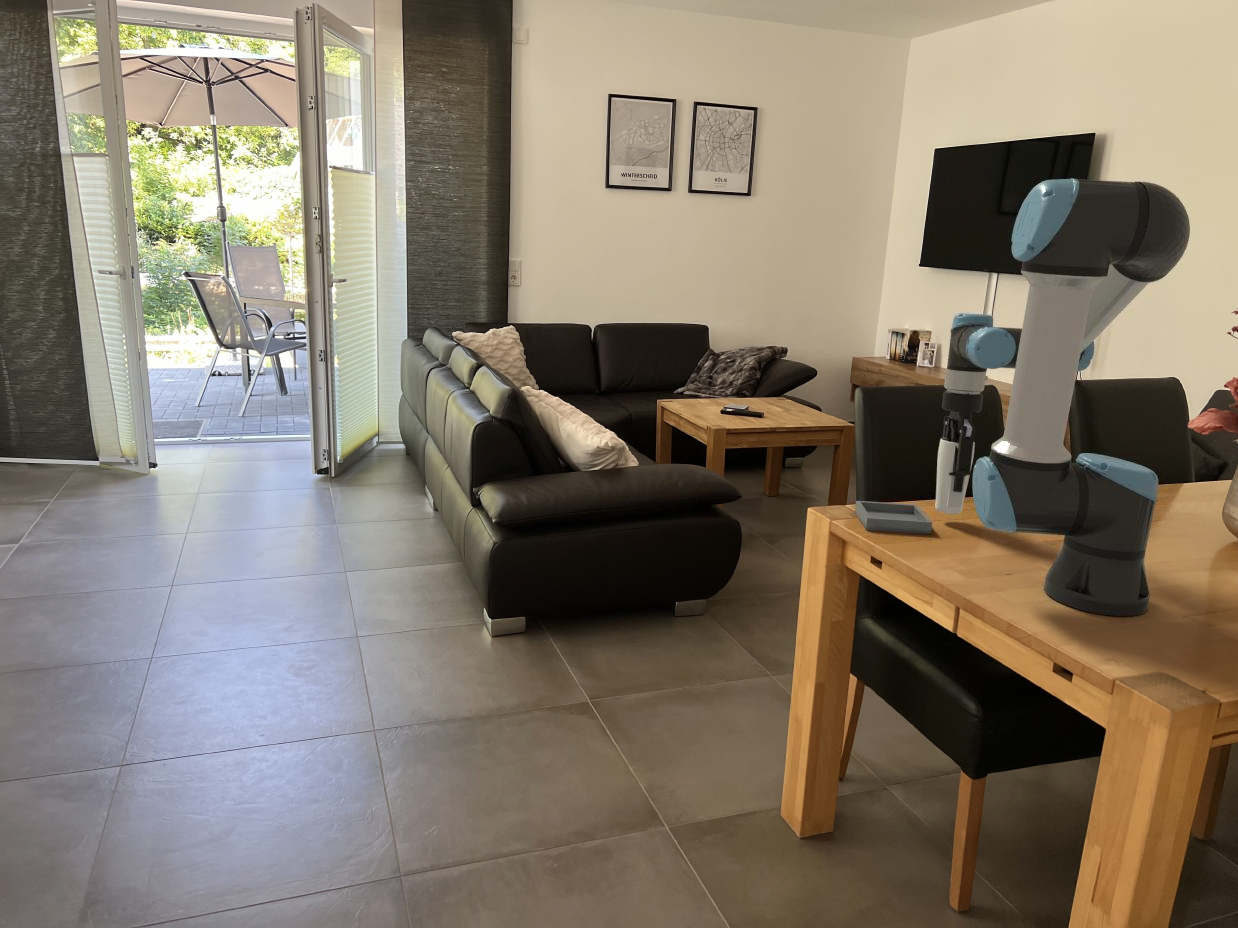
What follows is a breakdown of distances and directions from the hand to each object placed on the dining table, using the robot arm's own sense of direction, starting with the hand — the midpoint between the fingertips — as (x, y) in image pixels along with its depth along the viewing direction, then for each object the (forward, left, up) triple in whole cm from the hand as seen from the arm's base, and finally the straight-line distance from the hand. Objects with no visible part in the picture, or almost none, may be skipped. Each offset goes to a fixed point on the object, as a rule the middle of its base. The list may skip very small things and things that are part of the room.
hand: (949, 502), depth 182 cm
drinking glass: (0, 0, -2) cm, 2 cm away
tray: (-3, +12, -4) cm, 13 cm away
